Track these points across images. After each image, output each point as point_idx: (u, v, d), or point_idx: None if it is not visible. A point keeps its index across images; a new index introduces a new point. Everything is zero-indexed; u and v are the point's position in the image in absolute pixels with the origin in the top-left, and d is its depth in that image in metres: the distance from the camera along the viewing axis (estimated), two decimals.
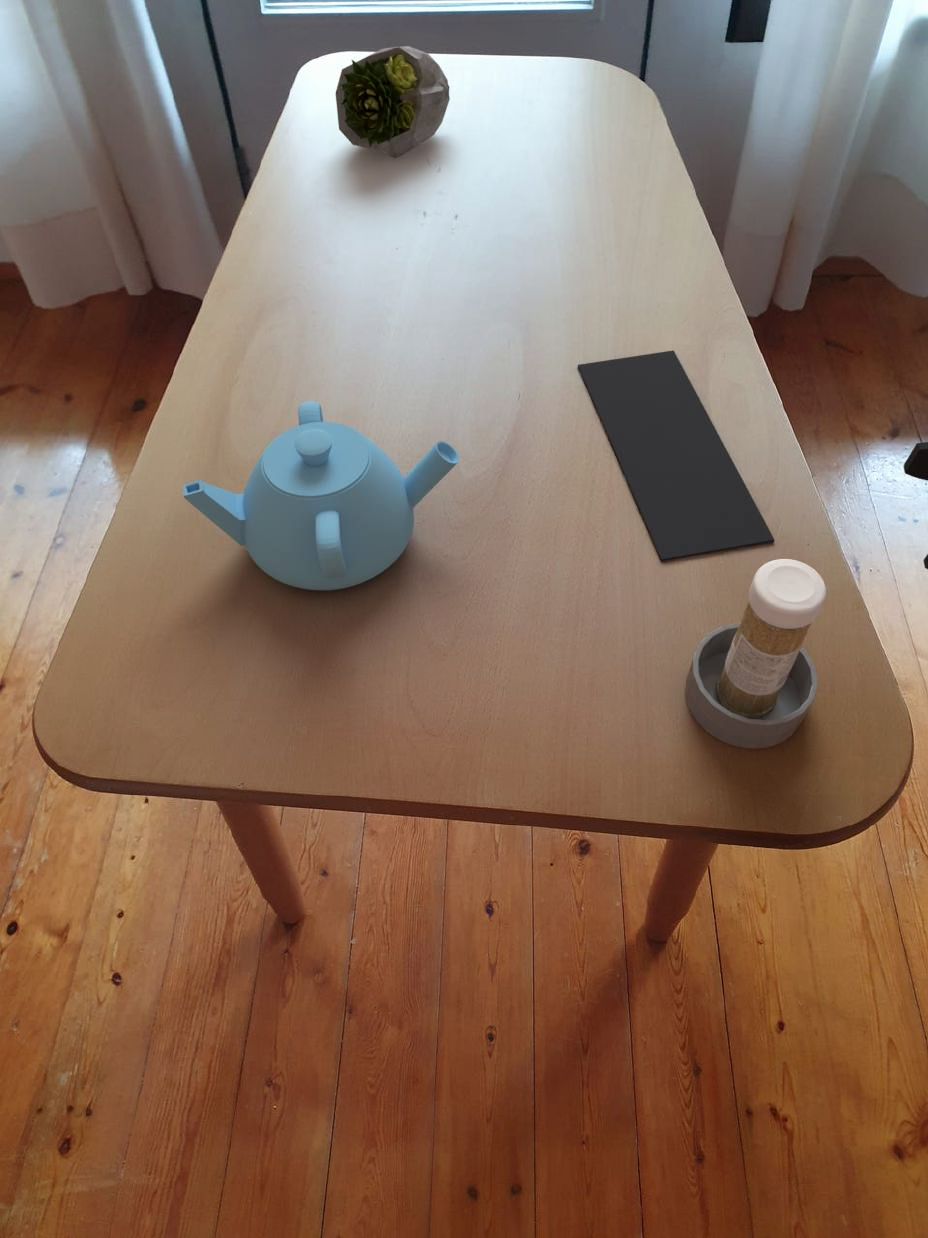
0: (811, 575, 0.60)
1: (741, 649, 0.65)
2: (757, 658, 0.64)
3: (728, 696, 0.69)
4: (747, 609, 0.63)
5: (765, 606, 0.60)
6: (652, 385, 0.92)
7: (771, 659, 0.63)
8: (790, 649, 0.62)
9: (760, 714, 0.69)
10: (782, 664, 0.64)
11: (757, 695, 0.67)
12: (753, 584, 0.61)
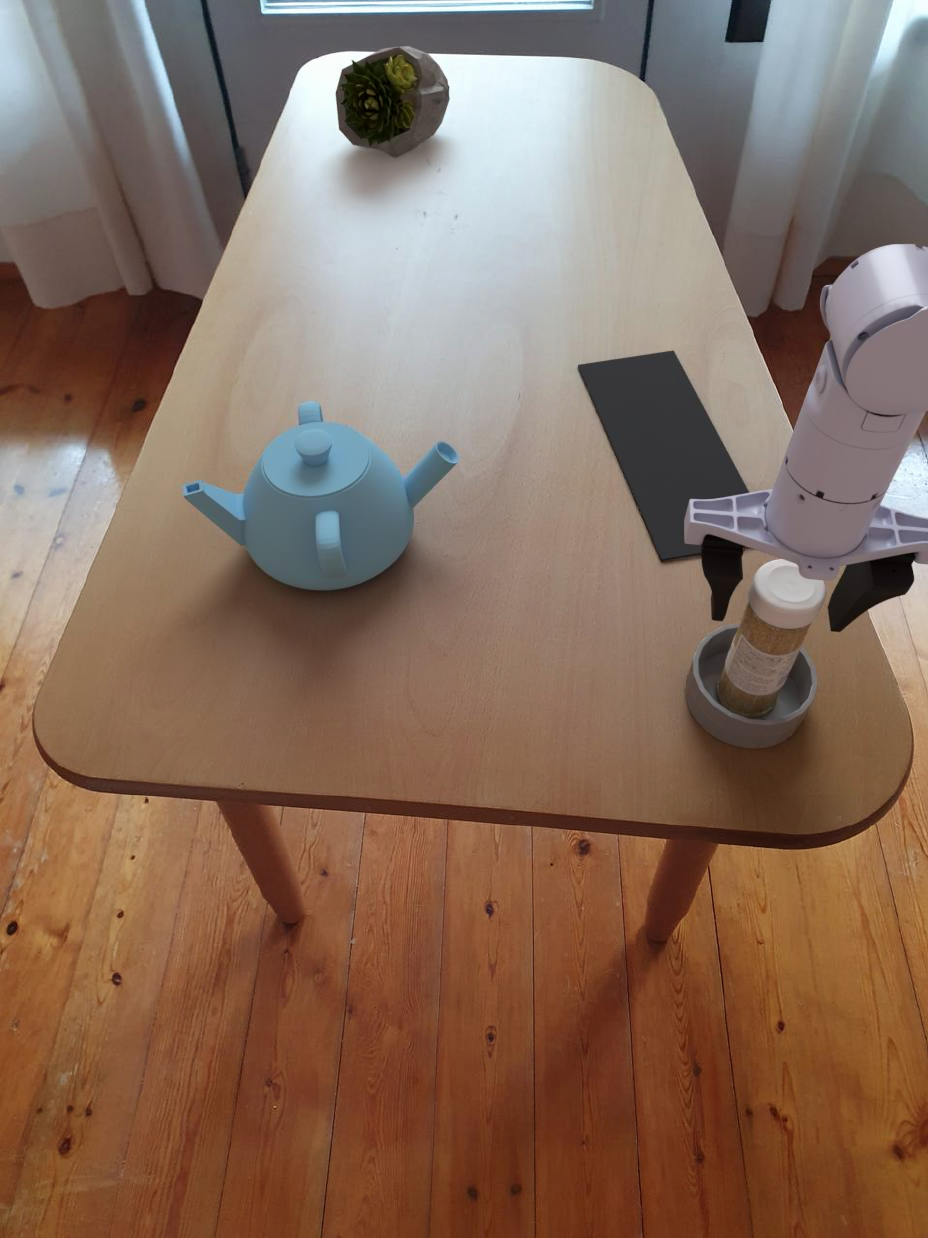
0: None
1: (741, 649, 0.65)
2: (757, 658, 0.64)
3: (728, 696, 0.69)
4: (747, 609, 0.63)
5: (765, 606, 0.60)
6: (652, 385, 0.92)
7: (771, 659, 0.63)
8: (790, 649, 0.62)
9: (760, 714, 0.69)
10: (782, 664, 0.64)
11: (757, 695, 0.67)
12: (753, 584, 0.61)
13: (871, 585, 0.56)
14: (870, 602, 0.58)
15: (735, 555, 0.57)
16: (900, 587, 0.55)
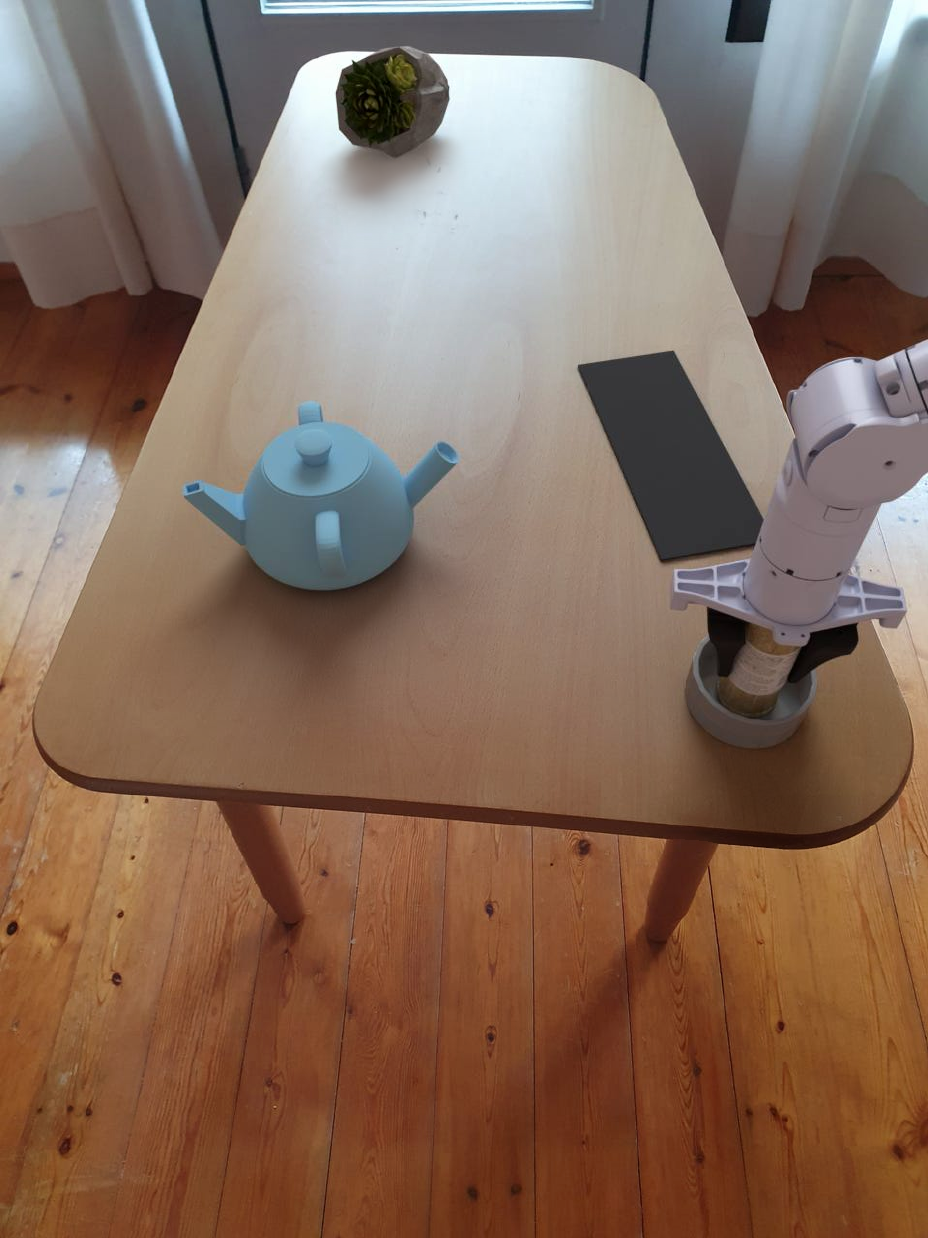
0: None
1: (741, 649, 0.65)
2: (757, 658, 0.64)
3: (728, 696, 0.69)
4: None
5: None
6: (652, 385, 0.92)
7: (772, 659, 0.63)
8: (790, 649, 0.62)
9: (760, 714, 0.69)
10: (783, 664, 0.64)
11: (758, 695, 0.67)
12: None
13: (819, 646, 0.61)
14: (820, 659, 0.63)
15: (738, 621, 0.62)
16: (845, 648, 0.60)
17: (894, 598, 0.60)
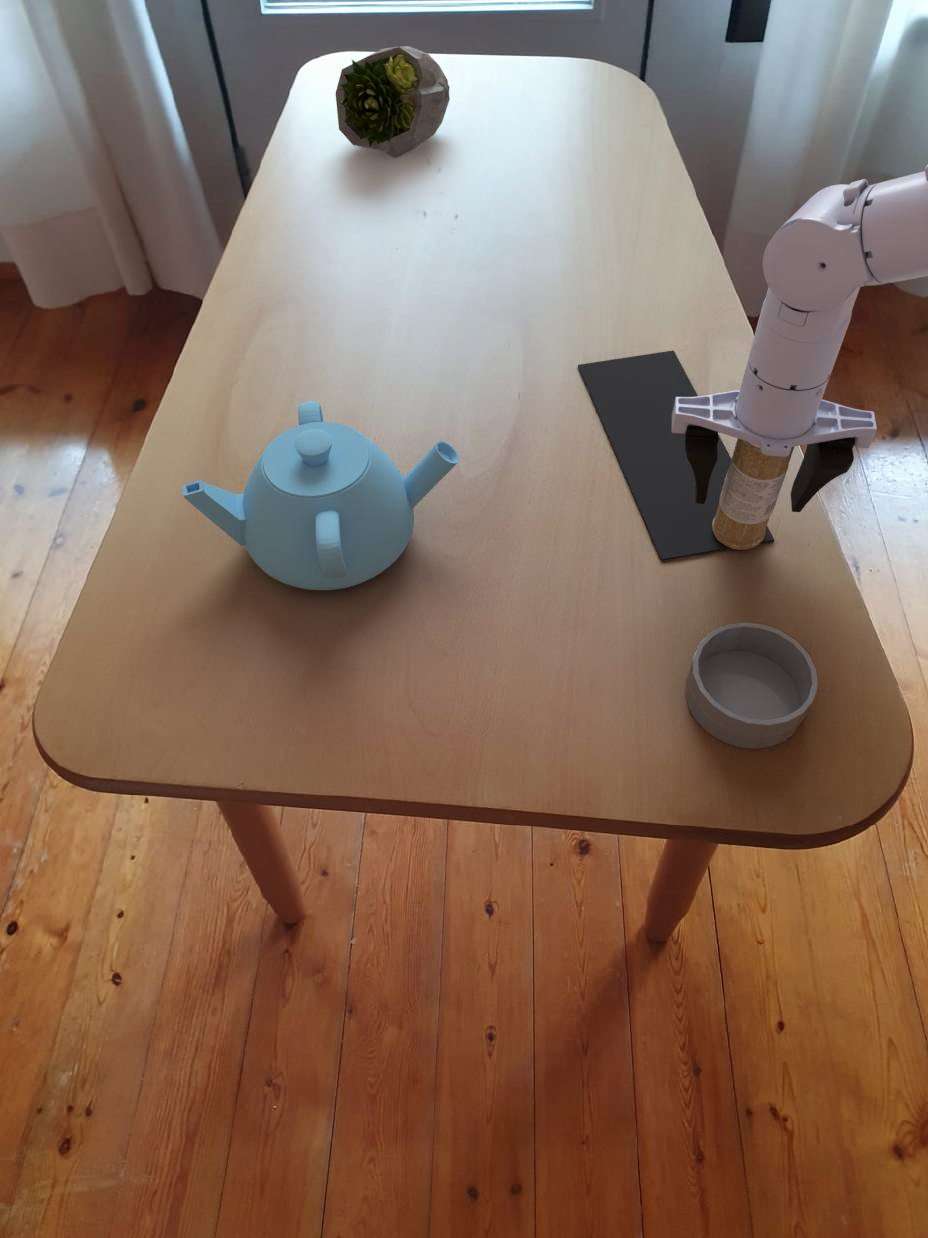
0: None
1: (733, 478, 0.74)
2: (746, 484, 0.73)
3: (722, 529, 0.79)
4: (738, 439, 0.72)
5: None
6: (652, 385, 0.92)
7: (759, 484, 0.73)
8: (774, 473, 0.72)
9: (750, 545, 0.79)
10: (768, 490, 0.73)
11: (747, 523, 0.76)
12: None
13: (819, 464, 0.70)
14: (821, 481, 0.72)
15: (712, 442, 0.71)
16: (842, 465, 0.69)
17: (866, 419, 0.69)
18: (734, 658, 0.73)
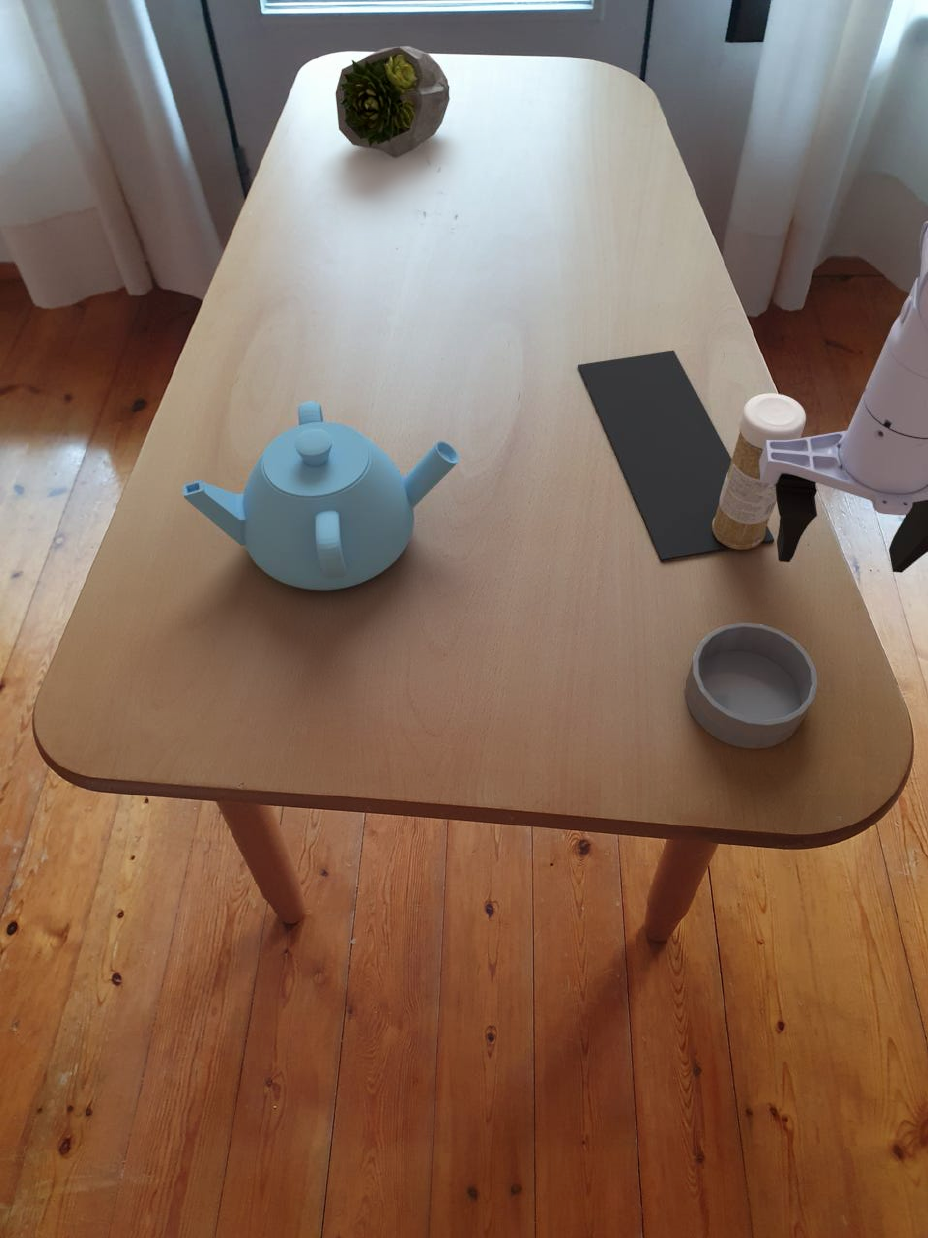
0: (793, 405, 0.70)
1: (733, 478, 0.74)
2: (747, 484, 0.73)
3: (722, 529, 0.79)
4: (738, 439, 0.72)
5: (753, 429, 0.69)
6: (652, 385, 0.92)
7: (759, 484, 0.73)
8: None
9: (750, 545, 0.79)
10: (769, 490, 0.73)
11: (747, 523, 0.76)
12: (743, 412, 0.70)
13: None
14: None
15: (809, 494, 0.60)
16: None
17: None
18: (734, 658, 0.73)
